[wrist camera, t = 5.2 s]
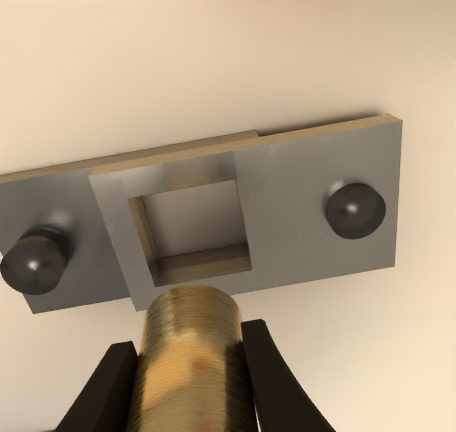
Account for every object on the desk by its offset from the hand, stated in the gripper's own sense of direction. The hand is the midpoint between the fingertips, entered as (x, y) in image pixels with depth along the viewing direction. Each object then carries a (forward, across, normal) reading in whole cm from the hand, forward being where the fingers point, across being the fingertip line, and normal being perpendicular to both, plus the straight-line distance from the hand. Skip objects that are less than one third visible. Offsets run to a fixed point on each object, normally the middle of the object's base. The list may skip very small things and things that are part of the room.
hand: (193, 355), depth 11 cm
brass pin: (+1, 0, 0) cm, 1 cm away
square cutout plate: (+8, 0, 0) cm, 9 cm away
